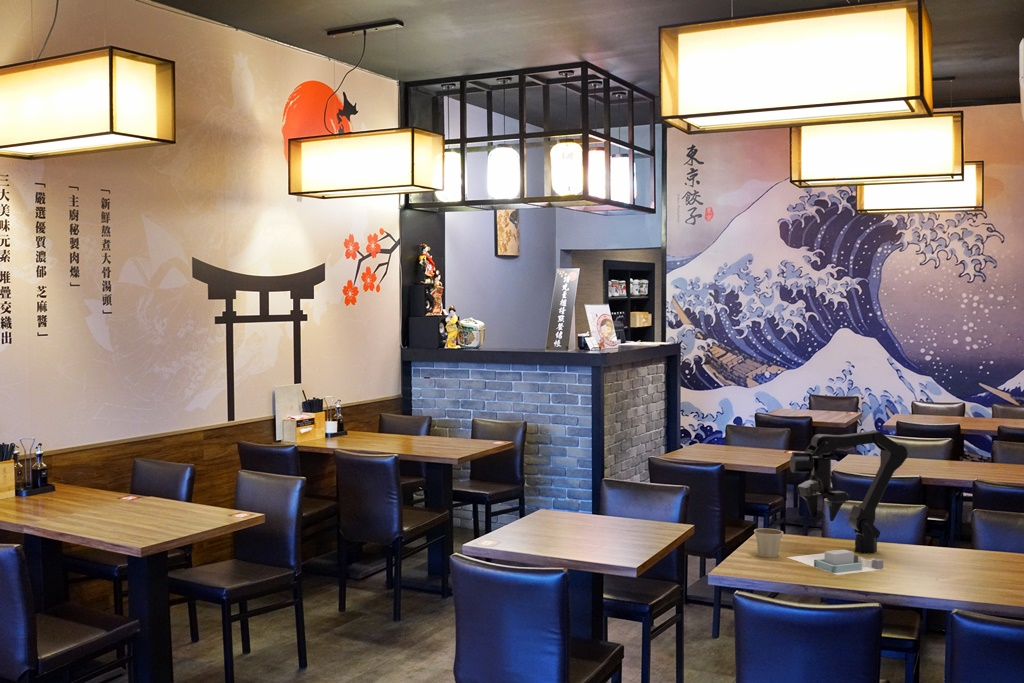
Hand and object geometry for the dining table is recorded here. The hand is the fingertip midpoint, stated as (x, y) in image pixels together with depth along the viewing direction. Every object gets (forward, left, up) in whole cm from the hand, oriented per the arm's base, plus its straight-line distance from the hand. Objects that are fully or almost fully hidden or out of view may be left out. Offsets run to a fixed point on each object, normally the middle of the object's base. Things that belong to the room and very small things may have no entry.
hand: (821, 518), depth 312 cm
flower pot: (+20, -3, -12) cm, 23 cm away
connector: (+8, +19, -11) cm, 24 cm away
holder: (+10, +19, -11) cm, 24 cm away
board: (+7, +14, -12) cm, 19 cm away
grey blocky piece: (0, +22, -11) cm, 25 cm away
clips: (0, +20, -11) cm, 23 cm away
